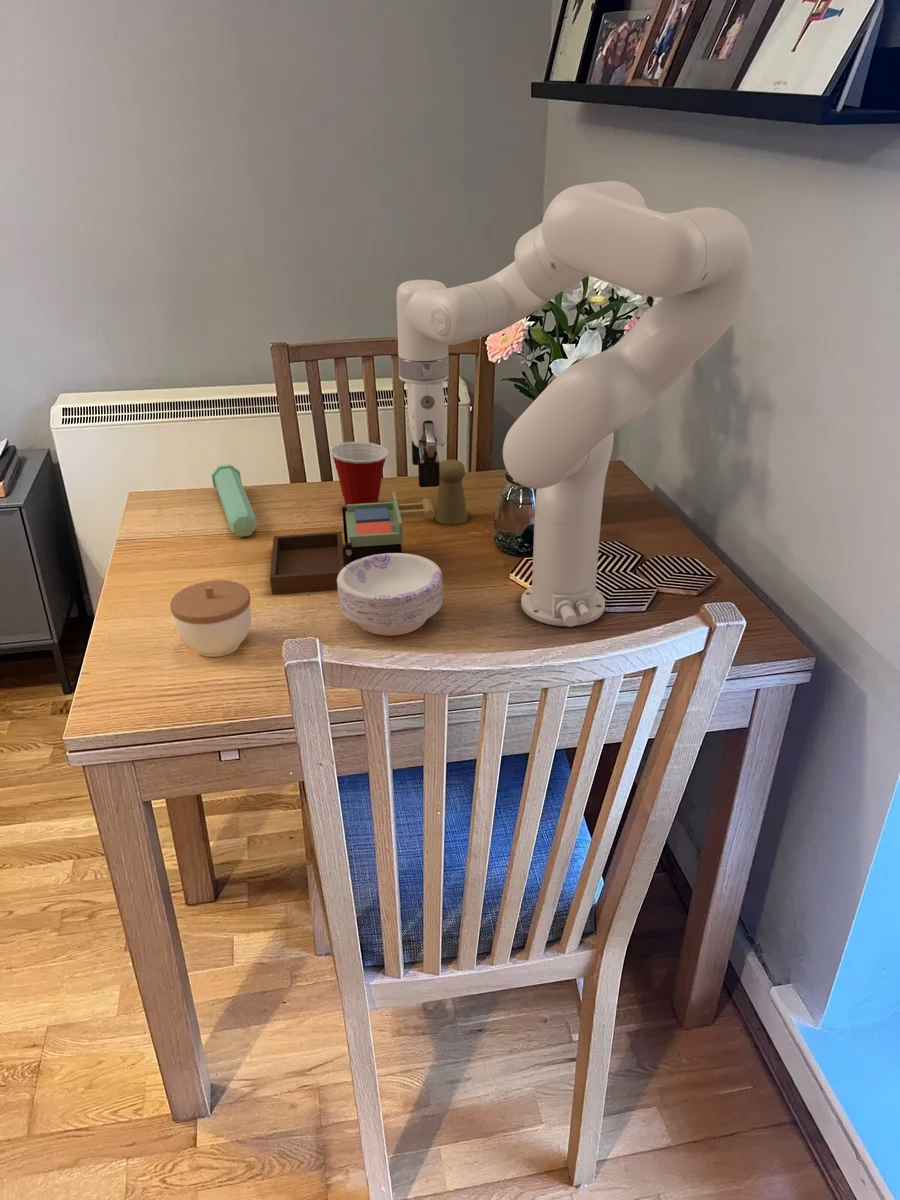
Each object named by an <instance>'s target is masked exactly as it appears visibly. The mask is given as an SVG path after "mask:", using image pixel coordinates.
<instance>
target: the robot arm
mask: <svg viewBox="0 0 900 1200" xmlns="http://www.w3.org/2000/svg"><path fill="white" fill-rule="evenodd" d="M751 241H752V240H751V238H750V235H749V232H748V230H747V229H746V227H745V225H744V223H743V222H742V220H740V219H739V217H738V216H736V214H733V212H730V211H729V210H727V209H723V208H719V207H713V206H712V207H711V206H701V207H694V208H689V209H684V210H678V211H673V212H667V213H665V212H660V211H656V210H654V209H649V208H648V205H647V204H646V201H645V199H644V197H643V196H642V194H641V193H640V192H639V191H638V190H637V189H636V188H635V187H633V186H632V185H631V184H629V183H626V182H623V181H618V180H606V181H605V180H604V181H597V182H590V183H582V184H581V183H580V184H575V185H572V186H569V187H567V188H566V189H564V190H562V191H560V192H559V193H558V194H557V195H555V197H554V198H553V199H552V200H551V201H550V202H549V205H548V206H547V208H546V210H545V212H544V215H543V218H542V222H540V223H539V224H538V225H536V226H535V227H533V228H532V229H530V230H528V231H527V232H525V233H524V234H522V235H521V236H520V237H519V239H518V240H517V242H516V244H515V248H514V261H513V262H511V263H510V264H508V265H507V266H505V267H504V268H502V269H501V270H499V271H498V272H496V273H494V274H492V275H491V276H490V277H488V278H486V279H483V280H479V281H474V282H469V283H464V284H460V285H457V286H453V287H452V286H451V287H448V288H447V286H446V285H445V283H443V282H442V281H438V280H433V279H411V280H407V281H406V280H405V281H404V282H402V283H400V284H399V285H398V287H397V290H396V320H397V321H396V325H397V327H396V328H397V353H398V354H397V355H398V356H397V359H398V379H399V380H400V381H402V382H404V383H406V401H407V417H408V424H409V431H410V435H411V439H412V440H411V459H412V460H411V462H412V465H414V466H417V467H418V468H417V469H418V471H417V472H418V487H419V488H433V487H434V488H435V487H436V488H437V487H439V485H440V471H439V463H440V460H439V459H440V458H439V451H438V450H439V449H438V446H441V447H445V445H446V443H447V439H446V438H447V436H446V412H445V393H444V384H443V382H445V381H447V380H448V379H449V375H450V373H449V346H456V345H461V344H465V343H467V342H471V341H474V340H476V339H480V338H483V337H486V336H489V335H490V336H491V335H493V334H497V333H499V332H501V331H503V330H505V329H508V328H509V327H512V326H513V325H514V324H517V323H518V322H520V321H521V320H523V319H525V318H527V317H529V316H530V315H532V314H533V313H535V312H537V311H538V310H539V309H541V308H542V307H544V306H545V305H546V304H548V302H551V301H552V300H553V298H554V297H556V296H558V294H561V293H562V292H564V291H565V290H567V289H569V288H571V287H572V286H574V285H575V284H577V283H578V282H580V281H582V280H584V279H585V278H587V277H589V276H590V277H592V278H595V279H598V280H600V281H603V282H605V283H608V284H611V285H614V286H617V287H619V288H623V289H626V290H628V291H631V292H634V293H636V294H640V295H643V296H647V297H652V298H661V299H660V300H658V301H657V302H656V303H655V304H654V305H652V306H651V307H650V308H649V309H648V310H647V311H646V312H645V313H644V314H643V315H642V316H641V317H640V318H639V320H638V321H637V322H636V323H635V325H634V326H633V327H631V329H629V330H628V331H627V332H626V334H625V335H624V336H622V337H621V339H619V340H618V341H616V342H615V344H614V345H612V346H611V347H609V348H607V349H606V350H603V351H601V352H599V353H596V354H594V355H591V356H589V357H586V358H584V359H581V360H579V361H577V362H575V363H573V364H571V365H570V366H568V367H567V368H565V369H564V370H563V371H562V372H560V373H559V374H558V375H557V376H555V378H554V379H552V380H551V382H550V383H549V384H548V385H547V386H546V387H545V388H544V390H543V391H542V392H541V393H540V394H538V395H537V397H536V398H535V400H533V402H531V404H530V405H529V406H528V407H527V408H526V409H525V410H524V411H523V412H522V414H521V415H520V416H519V417H518V418H517V419H516V420H515V421H514V423H513V424H512V425H511V426H510V428H509V429H508V431H507V432H506V435H505V438H504V441H503V446H502V459H503V464H504V467H505V470H506V471H507V474H508V475H509V476H510V477H511V478H512V480H514V481H515V482H516V483H517V484H518V485H521V486H522V487H526V488H528V489H534V490H536V491H535V492H536V493H535V500H534V519H533V520H534V522H533V546H532V547H533V548H532V549H533V550H532V573H531V575H532V577H531V586H529V587H528V588H527V589H526V590H525V591H524V592H523V593H522V595H521V597H520V601H521V603H520V606H521V609H522V610H523V612H524V613H525V614H526V615H527V616H528V617H530V618H531V619H533V620H534V621H537V622H539V623H542V624H544V625H545V624H546V625H551V626H555V627H568V628H572V627H575V626H583V625H586V624H590V623H593V622H594V621H596V620H598V619H599V618H600V617H601V616H603V614H604V612H605V610H606V609H605V608H606V600H605V597H604V596H603V594H602V593H601V592H600V591H598V590H597V576H598V562H599V552H600V551H599V550H600V539H601V537H600V535H601V526H602V525H601V522H602V514H603V506H604V505H603V502H604V494H605V493H604V492H605V486H606V478H607V474H608V469H609V465H610V461H611V457H612V452H613V447H614V438H615V435H614V434H615V432H616V431H618V430H620V429H622V428H624V427H625V426H627V425H629V424H631V423H633V422H634V421H636V420H638V419H639V418H641V417H642V416H643V415H644V414H645V413H647V411H648V410H649V409H650V408H651V407H652V406H653V405H654V404H655V403H656V402H657V401H658V400H659V398H661V397H662V396H663V395H664V394H665V393H666V392H667V391H668V390H669V389H670V388H671V387H673V385H674V384H676V382H677V381H678V380H679V379H680V378H682V377H683V376H684V375H685V374H686V372H688V370H690V368H691V367H692V366H694V364H695V363H696V362H697V361H698V360H699V359H701V358H702V356H704V355H705V353H706V352H707V351H709V349H711V348H712V347H713V346H714V345H715V344H716V343H717V341H718V340H719V339H720V338H722V336H723V335H724V334H725V332H727V330H728V329H729V328H730V326H731V325H732V323H733V322H734V321H735V319H736V318H737V316H738V315H739V313H740V311H741V309H742V307H743V306H744V304H745V301H746V299H747V297H748V294H749V291H750V289H751V288H750V287H751V285H752V279H753V274H754V273H753V272H754V271H753V270H754V252H753V246H752V242H751Z"/></svg>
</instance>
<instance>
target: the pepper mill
mask: <svg viewBox="0 0 900 1200" xmlns="http://www.w3.org/2000/svg"><path fill="white" fill-rule="evenodd" d="M439 471H440V485H439V486H438V489H437V499H436V505H435V506H436V507H435V516H434V519H435V521H436V522H437V523H439V524H443V525H449V526H450V525H459V524H462V523H464V522H466V521H467V520H468V511H467V506H466V505H467V504H466V499H465V492H464V485H463V484H464V483H463V478H464V477H465V475H466V467H465V465H464V463H463V462H462V461H460V460H458V459H445V460H441V461H439Z"/></svg>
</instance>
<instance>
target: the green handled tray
mask: <svg viewBox="0 0 900 1200" xmlns="http://www.w3.org/2000/svg"><path fill="white" fill-rule="evenodd" d="M398 502H399V501H398V497H397V493H396V491H391V501H382V502H379V501H378V503H364V504H349V505H347V511H345V513H346V525H347V536H348V543H351V544H352V547H362V546H376V545H390V544H401V545H402V544H404V532H403V531H404V530H403V529H404V528H403V520H402V518H404V517H419V516H421V517H422V516H425V518H426V519H427V520H432V519H435V515H436V511H435V509H434V506H433V503H432V500H431V498H429V497H425V498H423V499H422V500H421V502H407V503H406V502H405V503H398ZM386 507H387V509H388V514H389V520H390V524H391V529H392V533H379V534H365V535H357V528H356V519H355V510H356V509H371V508H386Z"/></svg>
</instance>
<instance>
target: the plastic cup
mask: <svg viewBox="0 0 900 1200" xmlns="http://www.w3.org/2000/svg"><path fill="white" fill-rule="evenodd" d="M329 451H330V456H331V457H332V459H333V462H334V465H335V470H336V472H337V477H338V480H339V485H340V489H341V493H342V496H343V499H344V500H343V501H344V504H345V507H347V505H349V504H364V503H379V499H380V498H379V497H380V492H381V486H382V478H383V470H384V467H385V462H386V459H387V457H388V456H389V449H387V448H386V447H384V446H383V445H380V444H377V443H374V442H368V441H346V442H341V443H338V444H334V445H333V446H332V447H330V449H329Z"/></svg>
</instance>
